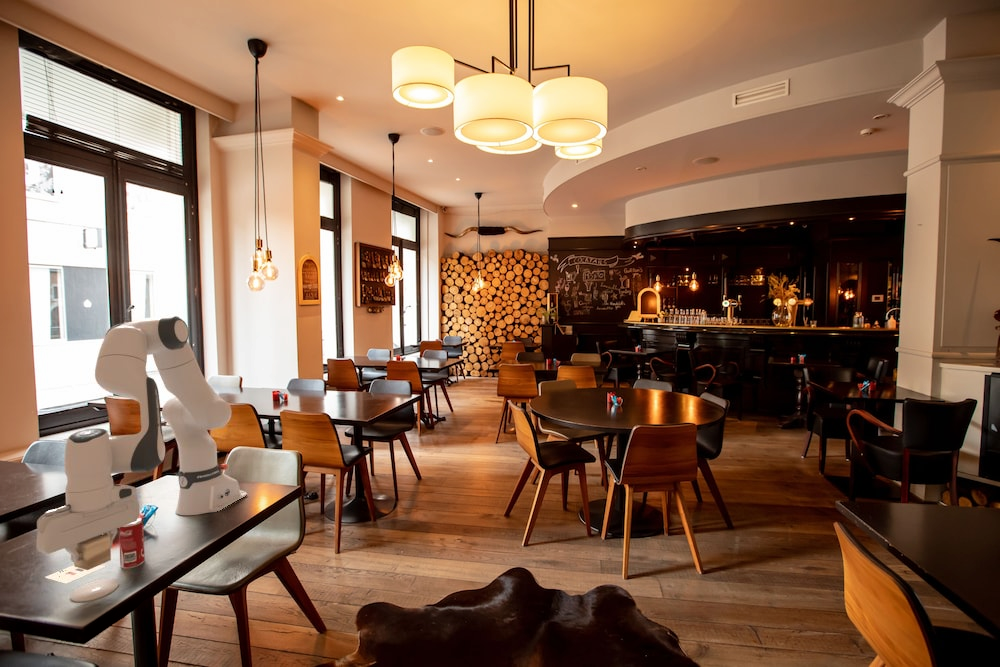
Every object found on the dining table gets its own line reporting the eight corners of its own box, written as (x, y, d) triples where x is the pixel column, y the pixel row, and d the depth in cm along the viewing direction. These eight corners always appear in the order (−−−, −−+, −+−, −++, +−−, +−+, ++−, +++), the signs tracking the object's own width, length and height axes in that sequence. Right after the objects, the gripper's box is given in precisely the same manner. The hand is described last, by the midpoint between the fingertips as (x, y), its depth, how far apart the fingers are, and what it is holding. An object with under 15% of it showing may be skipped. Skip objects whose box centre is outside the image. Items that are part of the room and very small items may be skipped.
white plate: (103, 578, 124) (103, 575, 124) (127, 585, 121) (127, 582, 121) (61, 598, 116) (61, 594, 116) (85, 605, 112) (85, 602, 112)
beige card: (84, 561, 133) (84, 560, 133) (106, 567, 130) (106, 566, 130) (44, 578, 125) (44, 577, 125) (66, 584, 121) (66, 583, 121)
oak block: (110, 560, 119) (110, 536, 119) (87, 570, 115) (86, 545, 114) (97, 556, 121) (96, 533, 121) (74, 566, 116) (73, 541, 116)
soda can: (129, 560, 133) (127, 517, 133) (149, 559, 134) (147, 516, 133) (115, 570, 128) (113, 525, 128) (136, 569, 128) (134, 524, 128)
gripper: (45, 516, 106) (48, 578, 107) (142, 485, 126) (144, 538, 126) (28, 512, 109) (31, 573, 109) (126, 483, 128) (128, 534, 128)
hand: (92, 554), depth 118 cm, fingers closed on oak block, 5 cm apart
